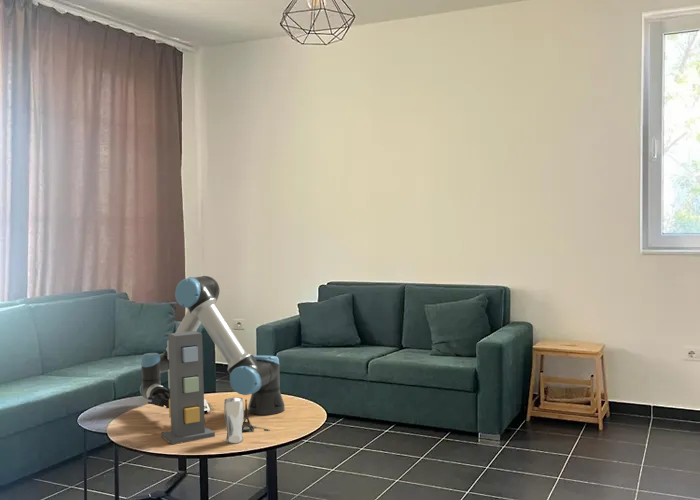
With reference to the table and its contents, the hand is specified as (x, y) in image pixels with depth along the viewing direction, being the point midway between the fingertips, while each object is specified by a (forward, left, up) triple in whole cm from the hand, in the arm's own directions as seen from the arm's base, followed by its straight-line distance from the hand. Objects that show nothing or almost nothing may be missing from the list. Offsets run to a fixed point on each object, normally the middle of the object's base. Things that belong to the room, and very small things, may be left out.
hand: (176, 406), depth 260 cm
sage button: (-5, +8, +8) cm, 12 cm away
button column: (-6, +10, -9) cm, 15 cm away
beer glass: (-24, +18, -9) cm, 32 cm away
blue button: (-5, +8, +19) cm, 21 cm away
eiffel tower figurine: (-27, +4, -10) cm, 29 cm away
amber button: (-5, +8, -3) cm, 10 cm away
